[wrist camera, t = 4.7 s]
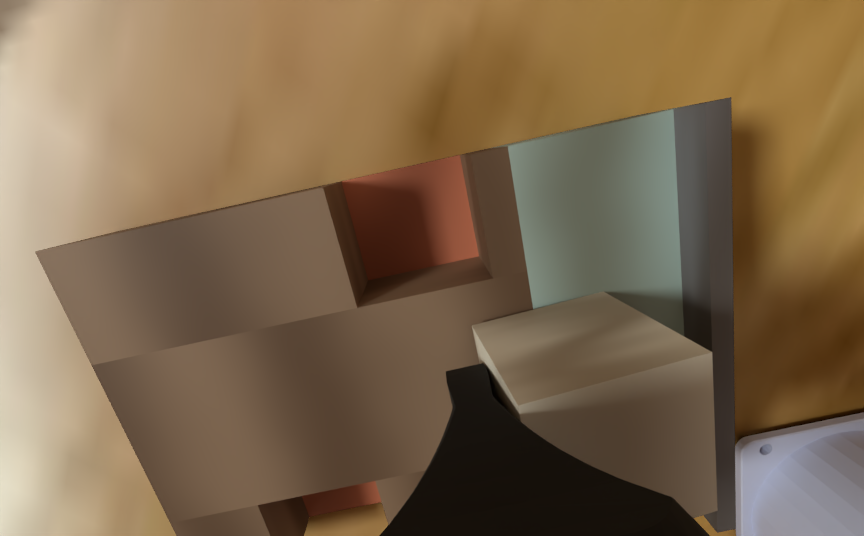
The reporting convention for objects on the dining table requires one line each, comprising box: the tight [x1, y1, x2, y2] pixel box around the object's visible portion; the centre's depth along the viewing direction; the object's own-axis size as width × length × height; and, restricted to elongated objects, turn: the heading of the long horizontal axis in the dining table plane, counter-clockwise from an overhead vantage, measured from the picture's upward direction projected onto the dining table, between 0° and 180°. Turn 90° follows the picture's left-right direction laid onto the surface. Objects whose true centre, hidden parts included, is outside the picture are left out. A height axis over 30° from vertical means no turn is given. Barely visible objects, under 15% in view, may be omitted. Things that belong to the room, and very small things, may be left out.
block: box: [472, 292, 718, 518], centre depth 10 cm, size 4×4×4 cm
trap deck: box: [36, 98, 736, 536], centre depth 13 cm, size 18×13×4 cm
